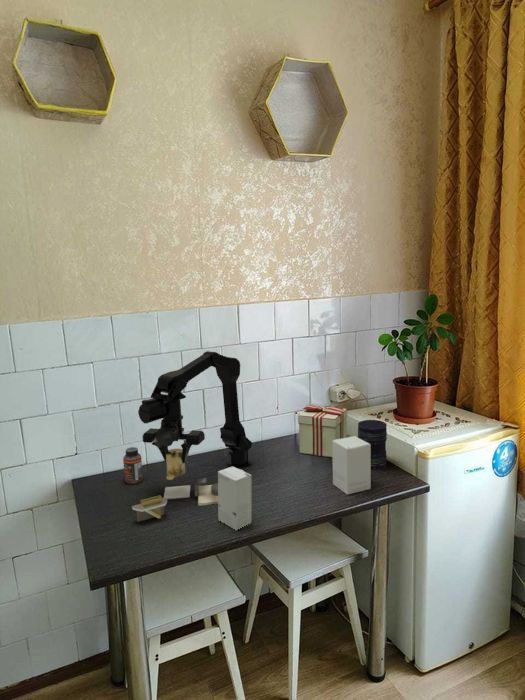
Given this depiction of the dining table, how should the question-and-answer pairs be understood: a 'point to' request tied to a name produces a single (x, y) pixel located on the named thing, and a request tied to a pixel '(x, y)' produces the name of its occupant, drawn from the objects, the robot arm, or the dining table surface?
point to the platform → (150, 508)
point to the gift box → (321, 429)
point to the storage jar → (374, 441)
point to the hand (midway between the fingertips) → (175, 462)
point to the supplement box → (351, 464)
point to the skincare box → (234, 497)
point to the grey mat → (177, 492)
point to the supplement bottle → (132, 466)
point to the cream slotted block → (206, 492)
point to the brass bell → (174, 463)
